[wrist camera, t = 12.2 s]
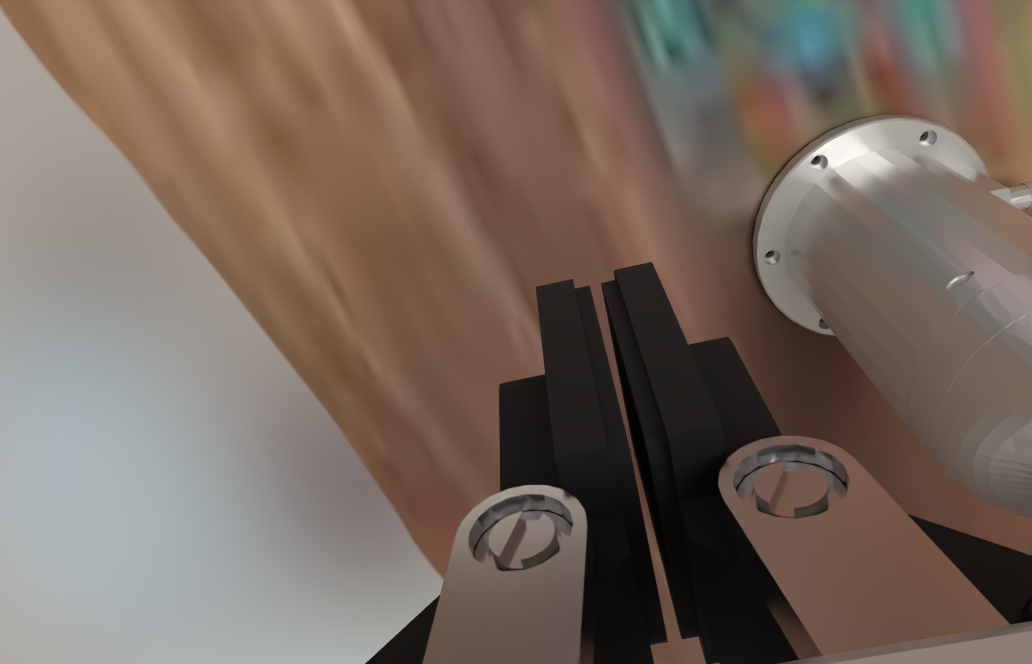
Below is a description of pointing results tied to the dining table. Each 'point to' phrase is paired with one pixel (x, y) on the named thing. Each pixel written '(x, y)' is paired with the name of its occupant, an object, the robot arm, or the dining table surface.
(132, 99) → the dining table surface
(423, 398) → the dining table surface
